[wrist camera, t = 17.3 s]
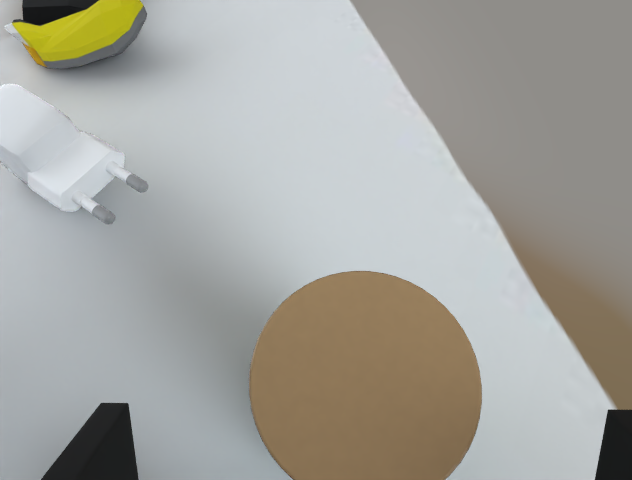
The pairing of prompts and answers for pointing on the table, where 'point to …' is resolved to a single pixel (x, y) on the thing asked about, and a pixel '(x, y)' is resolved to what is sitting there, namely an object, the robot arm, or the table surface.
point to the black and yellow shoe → (77, 29)
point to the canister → (365, 382)
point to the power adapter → (57, 154)
